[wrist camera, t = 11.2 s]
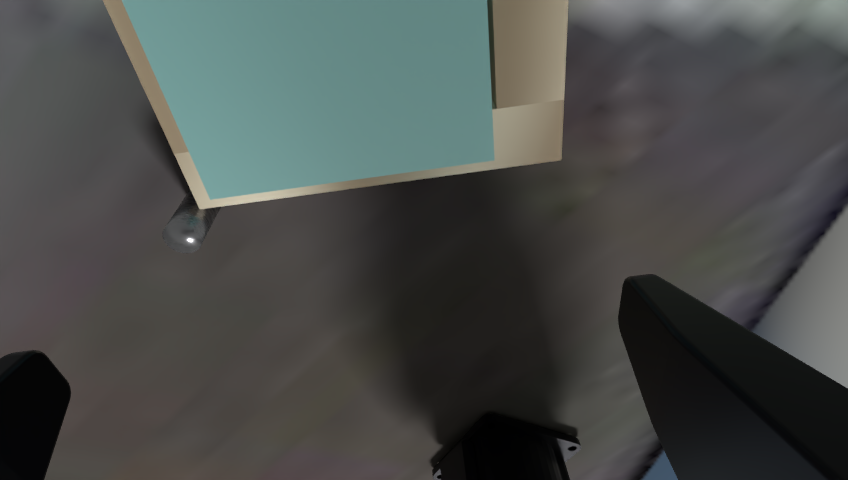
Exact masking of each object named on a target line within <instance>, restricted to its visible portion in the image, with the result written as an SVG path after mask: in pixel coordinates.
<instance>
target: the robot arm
mask: <svg viewBox="0 0 848 480" xmlns="http://www.w3.org/2000/svg"><path fill="white" fill-rule="evenodd" d="M618 323H619V329H620V333H621V336H622V339H623V341H624V344H625V347H626V350H627V353H628V356H629V359H630V362H631V365H632V368H633V371H634V374H635V376H636V379H637V382H638V385H639V388H640V391H641V394H642V397H643V400H644V403H645V406H646V408H647V411H648V414H649V417H650V419H651V422H652V424H653V427H654V429H655V431H656V434H657V436H658V438H659V440H660V442H661V444H662V447H663V449H664V451H665V453H666V455H667V457H668V459H669V461H670V463H671V466H672V468H673V470H674V472H675V474H676V476H677V478H678V480H848V388H846V387H844V386H842V385H841V384H839V383H837V382H836V381H834V380H832V379H831V378H829V377H827V376H826V375H824V374H822V373H821V372H819V371H817V370H815V369H814V368H812V367H810V366H809V365H807V364H805V363H803V362H802V361H800V360H798V359H797V358H795V357H793V356H792V355H790V354H788V353H787V352H785V351H783V350H782V349H780V348H778V347H777V346H775V345H773V344H772V343H770V342H768V341H767V340H765V339H763V338H761V337H760V336H758V335H757V334H755V333H753V332H751V331H750V330H748V329H746V328H745V327H743V326H741V325H740V324H738V323H736V322H735V321H733V320H731V319H730V318H728V317H726V316H724V315H723V314H721V313H719V312H718V311H716V310H714V309H713V308H711V307H709V306H708V305H706V304H704V303H703V302H701V301H699V300H698V299H696V298H694V297H692V296H691V295H689V294H687V293H686V292H684V291H682V290H681V289H679V288H677V287H676V286H674V285H672V284H671V283H669V282H667V281H665V280H664V279H662V278H660V277H659V276H657V275H654V274H646V275H638V276H630V277H628V278H626V279H625V281H624V283H623V287H622V294H621V301H620V308H619V315H618ZM70 397H71V389H70V385H69V383H68V381H67V380H66V379H65V378H64V376H63V375H62V374H61V373H60V372H59V370H58V369H57V368H56V367H55V365H54V364H53V363H52V362H51V361H50V359H49V358H48V357H47V356H46V355H45V354H44V353H42V352H40V351H36V350H31V351H23V352H15V353H11V354H8V355H5V356H4V357H2V358H0V480H44V478H45V475H46V472H47V469H48V466H49V463H50V460H51V457H52V454H53V450H54V447H55V444H56V441H57V438H58V435H59V432H60V429H61V426H62V423H63V420H64V416H65V413H66V410H67V407H68V404H69V401H70ZM580 449H581V445H580V442H579V440H578V439H577V438H575V437H572V436H568V435H565V434H562V433H558V432H555V431H551V430H548V429H544V428H541V427H537V426H534V425H530V424H527V423H523V422H520V421H517V420H513V419H510V418H506V417H503V416H499V415H496V414H487V415H484V416H483V417H482V418H481V419H480V420H479V421H478V422H477V423H476V424H475V425H474V426H473V427H472V428H471V429H470V431H469V432H468V433H467V434H466V435H465V436H464V437H463V438H462V439H461V440H460V441H459V442H458V443H457V444H456V445H455V446H454V447H453V448H452V450H451V451H450V452H449V453H448V454H447V455H446V456H445V457H444V458H443V459H442V460H441V461H440V462H439V463H438V464H437V465H436V466H435V467H434V468H433V470H432V472H433V479H434V480H570V478H569V475H568V472H567V468H566V465H565V462H566V461H567V460H569V459H570V458H571V457H572V456H573V455H575V454H576V453H577V452H578V451H579V450H580Z"/></svg>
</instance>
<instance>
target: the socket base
mask: <svg viewBox="0 0 848 480" xmlns="http://www.w3.org/2000/svg"><path fill="white" fill-rule="evenodd" d="M103 2H104V4H105V6H106V8H107V10H108V12H109V15H110V17H111V19H112V21H113V23H114V25H115V28H116V30H117V32H118V34H119V36H120V38H121V41H122V43H123V45H124V47H125V49H126V51H127V54H128V56H129V58H130V60H131V62H132V64H133V66H134V69H135V71H136V73H137V75H138V77H139V79H140V82H141V84H142V86H143V88H144V90H145V92H146V95H147V97H148V99H149V101H150V103H151V105H152V108H153V110H154V112H155V114H156V116H157V118H158V120H159V123H160V125H161V127H162V129H163V131H164V133H165V136H166V138H167V140H168V142H169V144H170V146H171V149H172V151H173V153H174V155H175V157H176V159H177V161H178V164H179V166H180V168H181V170H182V172H183V174H184V177H185V179H186V181H187V183H188V185H189V187H190V190H189V192H188V193H187V195H186V197H185V198H184V200H183V201H182V203H181V204H180V206H179V207H178V209H177V210H176V212H175V213H174V215H173V216H172V218H171V220H170V221H169V223H168V224H167V226H166V227H165V229H164V231H163V239H164V241H165V243H166V244H167V245H168V246H169V247H170V248H172V249H173V250H175V251H178V252H182V253H191V252H194V251H196V250H198V249H199V248H200V246H201V244H202V242H203V240H204V238H205V236H206V235H207V233H208V231H209V229H210V227H211V225H212V223H213V221H214V219H215V217H216V215H217V214H218V212H219V210H220V208H221V206H228V205H236V204H243V203H250V202H258V201H265V200H272V199H280V198H287V197H295V196H302V195H309V194H317V193H324V192H331V191H339V190H346V189H353V188H361V187H368V186H375V185H383V184H390V183H397V182H405V181H412V180H419V179H427V178H434V177H442V176H449V175H456V174H464V173H471V172H478V171H486V170H493V169H500V168H508V167H515V166H522V165H530V164H537V163H544V162H552V161H559V160H561V158H562V135H563V113H564V90H565V67H566V45H567V22H568V0H487V9H488V30H489V52H490V73H491V94H492V115H493V137H494V158H495V160H494V161H487V162H480V163H473V164H465V165H458V166H451V167H444V168H436V169H429V170H422V171H415V172H408V173H400V174H393V175H386V176H379V177H371V178H364V179H357V180H350V181H342V182H335V183H328V184H321V185H314V186H306V187H299V188H292V189H285V190H277V191H270V192H263V193H256V194H249V195H241V196H234V197H227V198H220V199H212V200H210V198H209V196H208V194H207V191H206V189H205V187H204V185H203V182H202V180H201V178H200V176H199V173H198V171H197V169H196V167H195V164H194V162H193V160H192V158H191V155H190V153H189V151H188V149H187V146H186V144H185V142H184V140H183V137H182V135H181V133H180V131H179V128H178V126H177V124H176V122H175V119H174V117H173V115H172V113H171V110H170V108H169V106H168V104H167V101H166V99H165V97H164V95H163V92H162V90H161V88H160V86H159V83H158V81H157V79H156V77H155V74H154V72H153V70H152V68H151V65H150V63H149V61H148V59H147V56H146V54H145V52H144V50H143V47H142V45H141V43H140V41H139V38H138V36H137V34H136V32H135V29H134V27H133V25H132V23H131V20H130V18H129V16H128V14H127V11H126V9H125V7H124V5H123V2H122V0H103Z"/></svg>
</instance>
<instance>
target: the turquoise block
mask: <svg viewBox="0 0 848 480" xmlns="http://www.w3.org/2000/svg"><path fill="white" fill-rule="evenodd" d="M122 2H123V5H124V7H125V9H126V11H127V14H128V16H129V18H130V20H131V23H132V25H133V27H134V29H135V32H136V34H137V36H138V38H139V41H140V43H141V45H142V47H143V50H144V52H145V54H146V56H147V59H148V61H149V63H150V65H151V68H152V70H153V72H154V74H155V77H156V79H157V81H158V83H159V86H160V88H161V90H162V92H163V95H164V97H165V99H166V101H167V104H168V106H169V108H170V110H171V113H172V115H173V117H174V119H175V122H176V124H177V126H178V128H179V131H180V133H181V135H182V137H183V140H184V142H185V144H186V146H187V149H188V151H189V153H190V155H191V158H192V160H193V162H194V164H195V167H196V169H197V171H198V173H199V176H200V178H201V180H202V182H203V185H204V187H205V189H206V191H207V194H208V196H209V198H210V200H212V199H220V198H227V197H234V196H241V195H249V194H256V193H263V192H270V191H277V190H285V189H292V188H299V187H306V186H314V185H321V184H328V183H335V182H342V181H350V180H357V179H364V178H371V177H379V176H386V175H393V174H400V173H408V172H415V171H422V170H429V169H436V168H444V167H451V166H458V165H465V164H473V163H480V162H487V161H494V160H495V158H494V137H493V115H492V94H491V73H490V52H489V30H488V9H487V0H122Z"/></svg>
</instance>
